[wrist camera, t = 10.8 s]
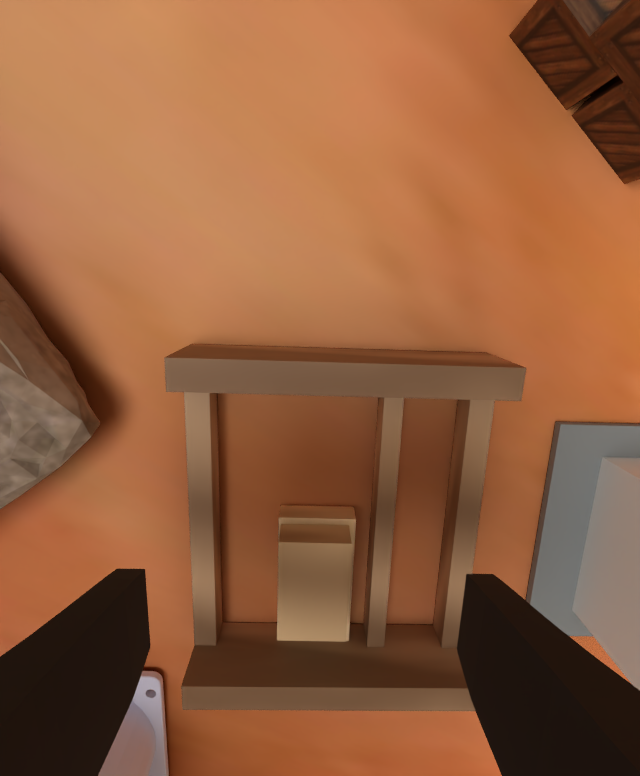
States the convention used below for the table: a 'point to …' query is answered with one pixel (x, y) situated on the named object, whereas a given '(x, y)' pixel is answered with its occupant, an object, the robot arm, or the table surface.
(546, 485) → the mat
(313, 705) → the rack
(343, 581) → the offcut stack
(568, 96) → the dark brown block piece
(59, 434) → the stone tablet
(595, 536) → the panel
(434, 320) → the table surface
